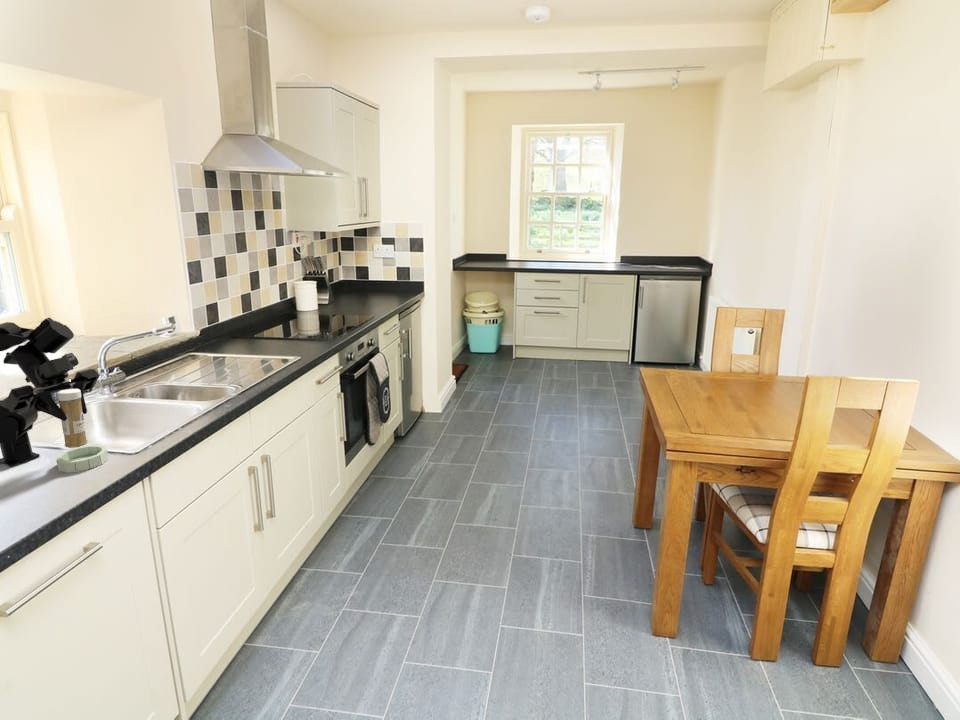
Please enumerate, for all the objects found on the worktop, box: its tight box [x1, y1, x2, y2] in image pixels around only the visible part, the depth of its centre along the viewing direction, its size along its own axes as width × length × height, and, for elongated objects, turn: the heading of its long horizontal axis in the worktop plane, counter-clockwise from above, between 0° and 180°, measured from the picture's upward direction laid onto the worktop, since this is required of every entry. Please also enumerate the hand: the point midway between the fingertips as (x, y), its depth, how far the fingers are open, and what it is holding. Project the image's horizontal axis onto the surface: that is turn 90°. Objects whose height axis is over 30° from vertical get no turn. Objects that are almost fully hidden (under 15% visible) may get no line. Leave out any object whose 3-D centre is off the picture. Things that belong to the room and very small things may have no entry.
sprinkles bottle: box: [56, 389, 88, 449], centre depth 136 cm, size 5×5×13 cm
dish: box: [55, 444, 109, 473], centre depth 139 cm, size 10×10×2 cm
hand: (75, 416), depth 135 cm, fingers closed on sprinkles bottle, 4 cm apart
